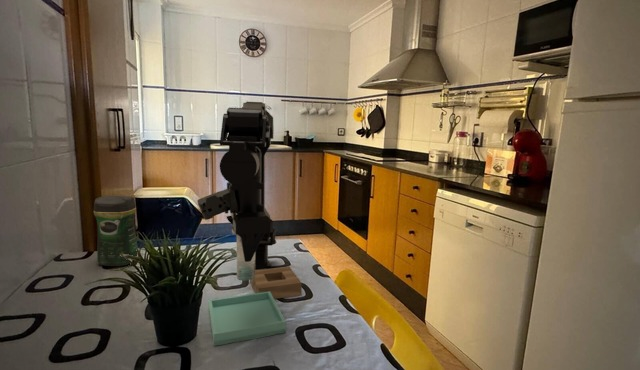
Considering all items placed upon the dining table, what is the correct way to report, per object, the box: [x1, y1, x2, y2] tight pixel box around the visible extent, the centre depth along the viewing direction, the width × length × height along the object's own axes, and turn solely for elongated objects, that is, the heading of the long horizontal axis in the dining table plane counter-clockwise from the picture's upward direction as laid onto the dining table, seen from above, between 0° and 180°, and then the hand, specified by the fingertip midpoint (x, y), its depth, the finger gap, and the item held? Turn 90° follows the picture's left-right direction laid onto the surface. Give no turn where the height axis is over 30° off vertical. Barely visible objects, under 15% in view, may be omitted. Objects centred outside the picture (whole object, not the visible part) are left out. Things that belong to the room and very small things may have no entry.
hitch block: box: [249, 266, 302, 300], centre depth 83 cm, size 10×10×3 cm
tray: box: [207, 291, 287, 347], centre depth 69 cm, size 13×13×2 cm
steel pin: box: [231, 225, 256, 282], centre depth 67 cm, size 5×5×10 cm
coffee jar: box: [93, 195, 139, 267], centre depth 95 cm, size 10×8×19 cm
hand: (245, 257), depth 67 cm, fingers closed on steel pin, 4 cm apart
